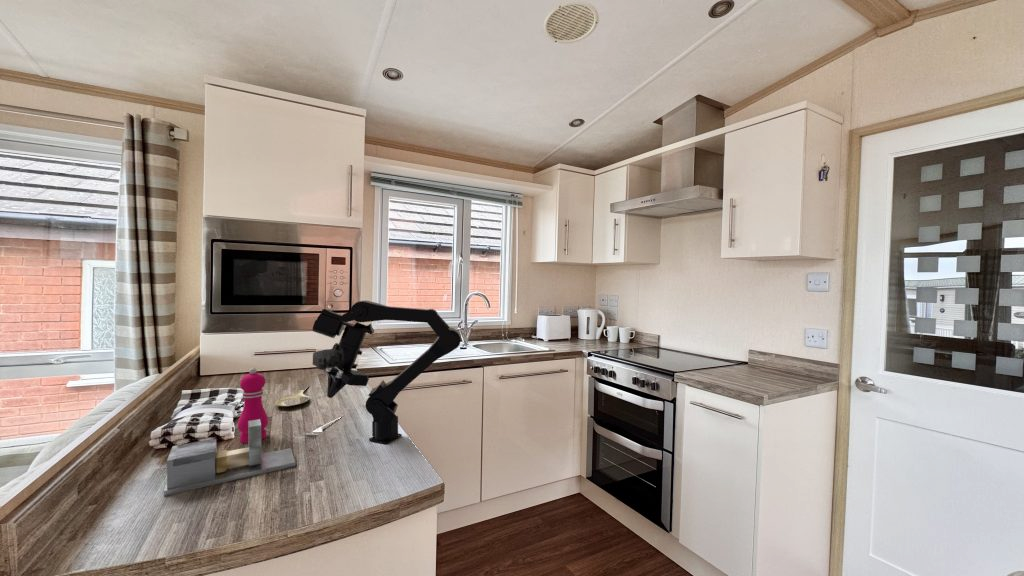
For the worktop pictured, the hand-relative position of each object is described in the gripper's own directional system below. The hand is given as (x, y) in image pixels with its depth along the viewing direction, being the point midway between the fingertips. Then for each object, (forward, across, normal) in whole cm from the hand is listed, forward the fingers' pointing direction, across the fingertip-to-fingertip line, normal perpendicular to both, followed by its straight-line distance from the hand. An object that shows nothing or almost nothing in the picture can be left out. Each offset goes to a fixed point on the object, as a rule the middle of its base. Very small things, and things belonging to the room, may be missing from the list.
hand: (329, 397), depth 111 cm
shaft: (+17, +1, -21) cm, 27 cm away
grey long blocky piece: (+18, +2, -19) cm, 26 cm away
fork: (+14, -9, +10) cm, 19 cm away
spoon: (+21, -47, +22) cm, 56 cm away
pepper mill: (+20, -16, -7) cm, 26 cm away
